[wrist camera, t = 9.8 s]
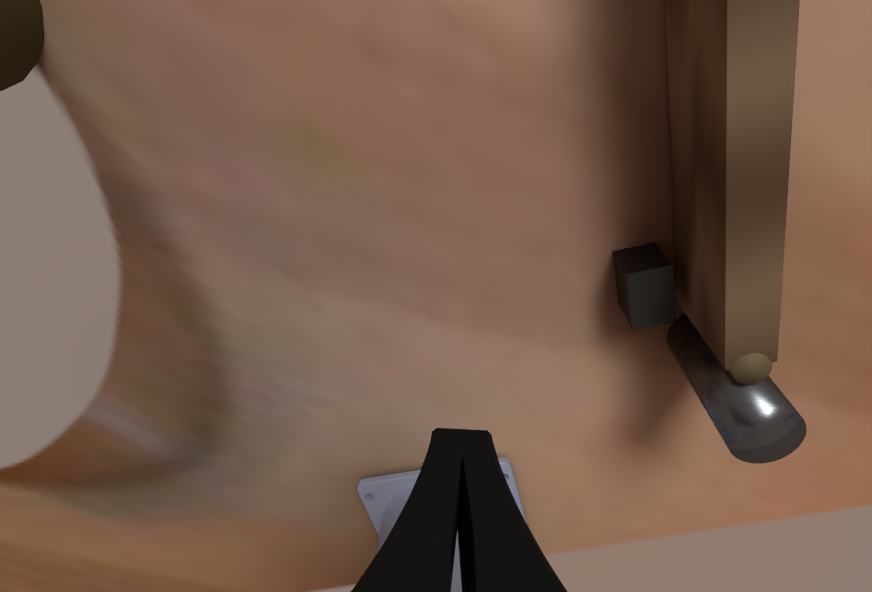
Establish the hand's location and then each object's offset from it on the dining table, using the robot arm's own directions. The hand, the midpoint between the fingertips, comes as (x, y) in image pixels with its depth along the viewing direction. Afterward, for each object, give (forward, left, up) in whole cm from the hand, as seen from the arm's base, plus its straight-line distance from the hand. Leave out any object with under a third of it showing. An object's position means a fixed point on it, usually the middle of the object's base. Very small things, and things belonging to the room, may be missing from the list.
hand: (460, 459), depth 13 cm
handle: (+3, -9, -10) cm, 13 cm away
